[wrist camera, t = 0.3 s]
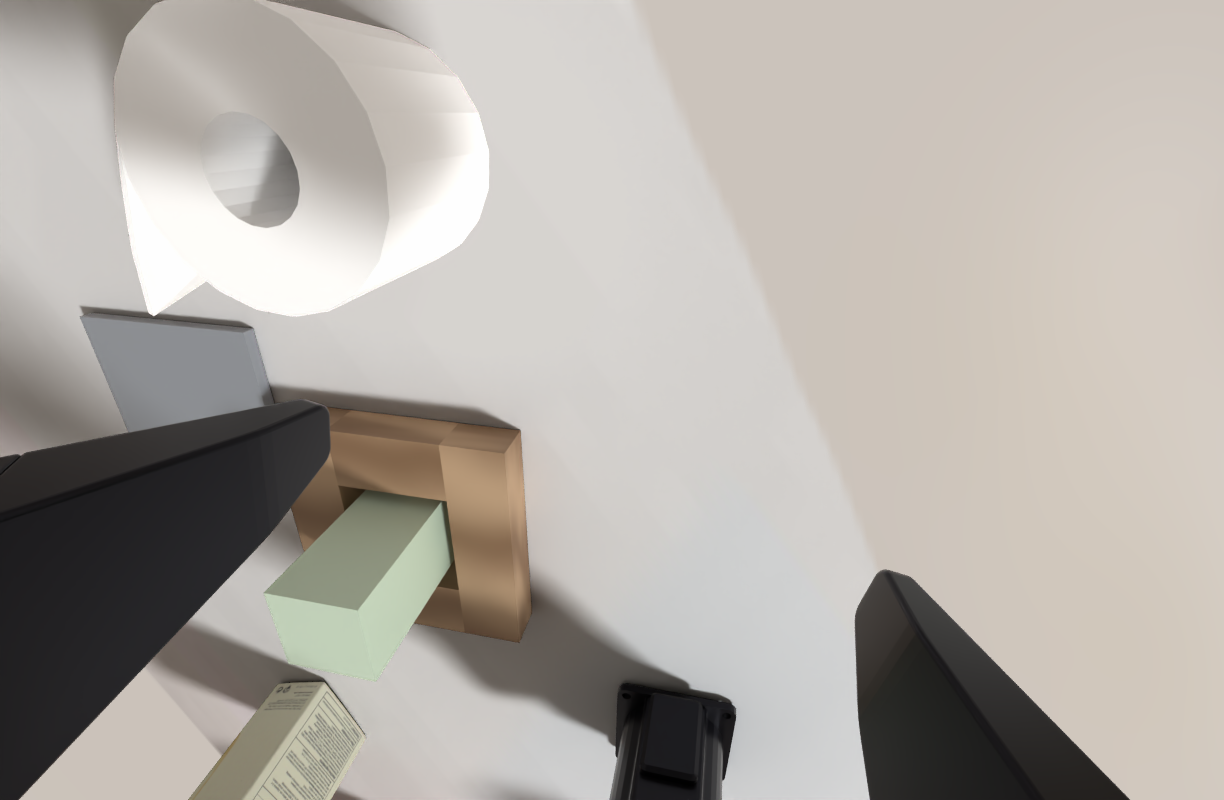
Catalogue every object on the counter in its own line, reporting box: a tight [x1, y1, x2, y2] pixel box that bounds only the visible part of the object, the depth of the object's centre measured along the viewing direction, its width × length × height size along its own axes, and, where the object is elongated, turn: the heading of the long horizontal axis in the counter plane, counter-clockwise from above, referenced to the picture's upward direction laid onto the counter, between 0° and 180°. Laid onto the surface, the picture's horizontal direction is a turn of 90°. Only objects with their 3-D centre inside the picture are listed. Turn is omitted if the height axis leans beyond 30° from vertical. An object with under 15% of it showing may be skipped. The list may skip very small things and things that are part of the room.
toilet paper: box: [113, 0, 489, 317], centre depth 19 cm, size 8×11×7 cm
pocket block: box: [291, 407, 532, 643], centre depth 28 cm, size 12×12×2 cm
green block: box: [264, 490, 455, 682], centre depth 26 cm, size 4×4×8 cm
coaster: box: [80, 313, 274, 432], centre depth 29 cm, size 9×9×1 cm
